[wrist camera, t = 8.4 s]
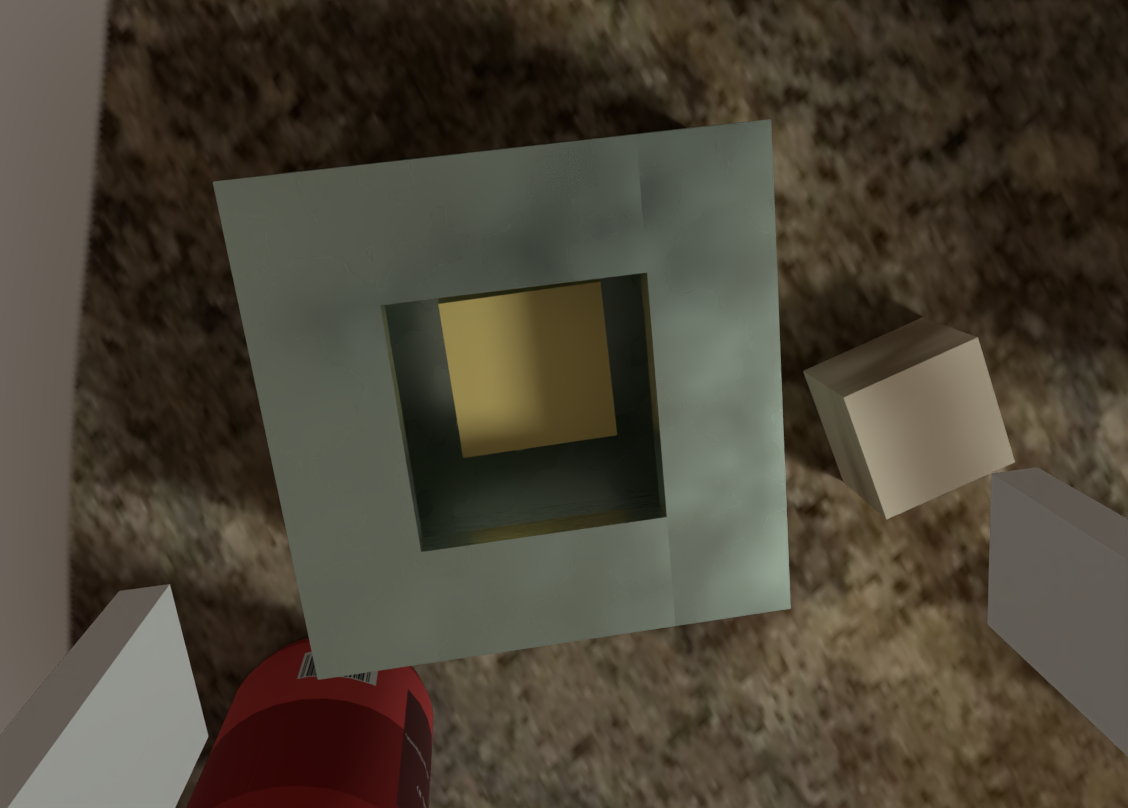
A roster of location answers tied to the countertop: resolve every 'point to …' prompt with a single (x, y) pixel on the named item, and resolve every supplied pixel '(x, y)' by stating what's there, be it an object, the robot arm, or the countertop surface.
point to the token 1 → (529, 366)
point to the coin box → (534, 475)
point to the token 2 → (910, 415)
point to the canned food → (321, 739)
